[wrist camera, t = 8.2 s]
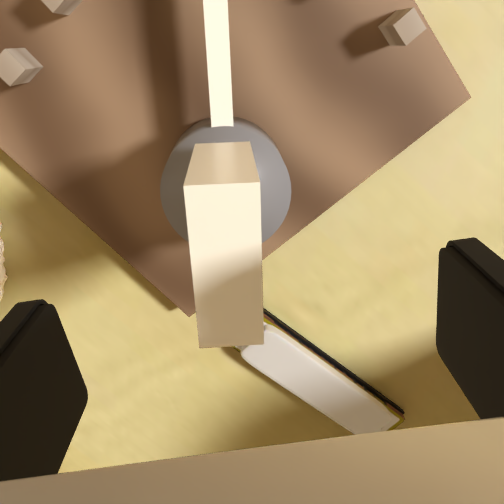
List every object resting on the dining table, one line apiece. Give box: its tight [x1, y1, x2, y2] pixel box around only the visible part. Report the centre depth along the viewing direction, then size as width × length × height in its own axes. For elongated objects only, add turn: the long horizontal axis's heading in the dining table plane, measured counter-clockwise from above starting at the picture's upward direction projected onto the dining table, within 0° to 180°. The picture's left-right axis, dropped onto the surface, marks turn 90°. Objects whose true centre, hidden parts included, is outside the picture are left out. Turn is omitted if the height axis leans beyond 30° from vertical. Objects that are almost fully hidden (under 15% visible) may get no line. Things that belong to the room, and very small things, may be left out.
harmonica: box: [231, 308, 405, 435], centre depth 30 cm, size 15×3×2 cm, turn 49°
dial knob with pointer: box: [160, 0, 291, 348], centre depth 16 cm, size 13×6×10 cm, turn 2°
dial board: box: [0, 0, 471, 317], centre depth 20 cm, size 19×18×4 cm
